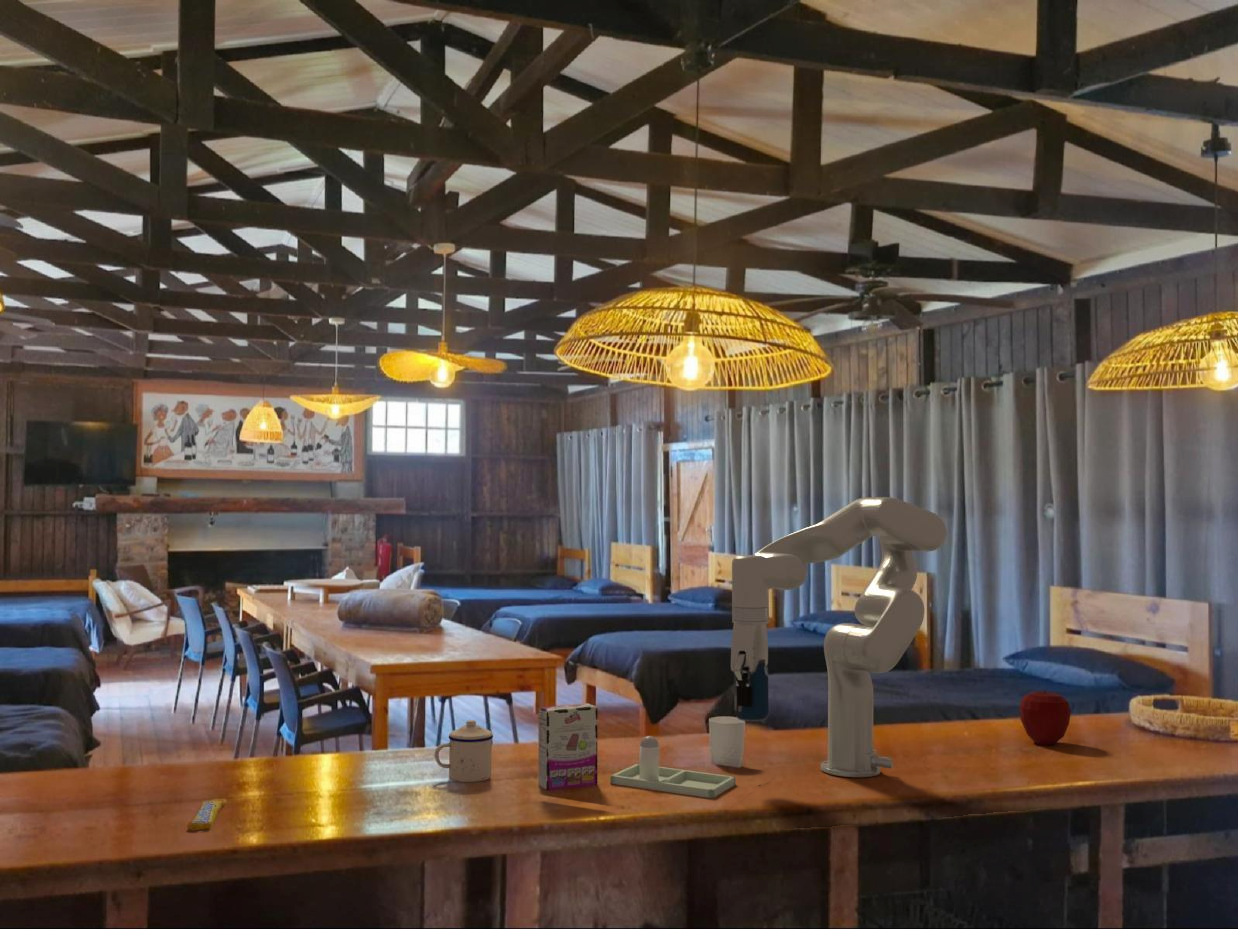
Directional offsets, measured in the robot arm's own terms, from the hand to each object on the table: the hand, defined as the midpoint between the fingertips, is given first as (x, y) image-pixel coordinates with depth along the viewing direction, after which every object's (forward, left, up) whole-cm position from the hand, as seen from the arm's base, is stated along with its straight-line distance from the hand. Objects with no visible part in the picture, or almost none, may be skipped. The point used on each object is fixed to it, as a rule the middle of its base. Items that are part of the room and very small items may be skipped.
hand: (751, 702), depth 220 cm
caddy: (+12, +11, -17) cm, 24 cm away
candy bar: (+76, +71, -17) cm, 106 cm away
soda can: (0, 0, -4) cm, 4 cm away
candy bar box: (+30, +22, -17) cm, 41 cm away
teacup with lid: (+53, +25, -17) cm, 61 cm away
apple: (-49, -75, -17) cm, 91 cm away
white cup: (+10, -13, -17) cm, 23 cm away
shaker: (+18, +11, -16) cm, 26 cm away
